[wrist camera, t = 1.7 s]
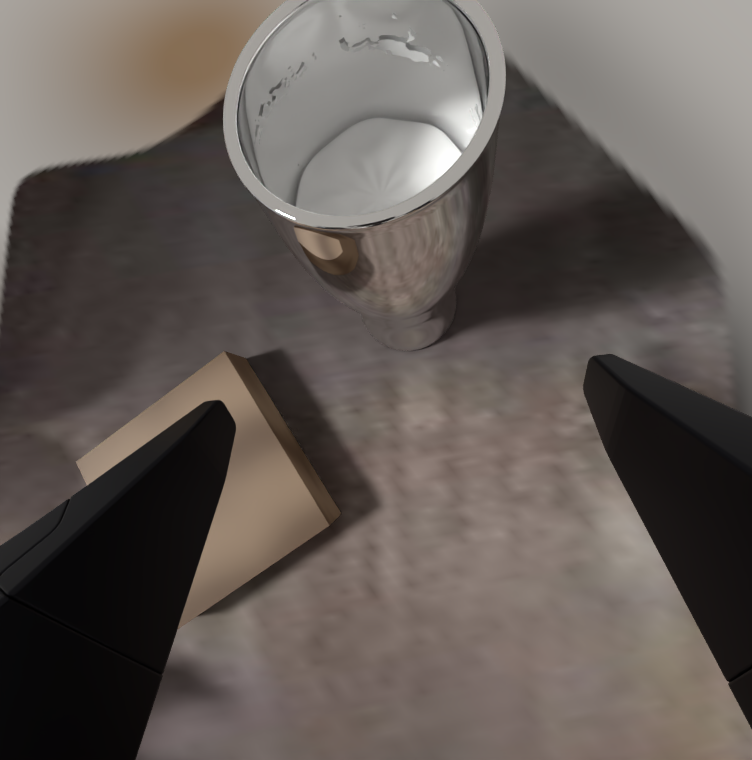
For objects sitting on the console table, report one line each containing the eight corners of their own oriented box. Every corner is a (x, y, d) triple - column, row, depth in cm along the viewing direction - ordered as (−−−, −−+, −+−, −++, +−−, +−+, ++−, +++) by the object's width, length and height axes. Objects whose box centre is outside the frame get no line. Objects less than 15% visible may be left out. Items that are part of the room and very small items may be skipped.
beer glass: (432, 233, 23) (424, -101, 8) (483, 326, 22) (582, 128, 7) (337, 284, 24) (174, 60, 9) (382, 377, 22) (279, 294, 8)
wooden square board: (341, 513, 22) (329, 525, 19) (190, 617, 23) (160, 641, 20) (245, 358, 24) (224, 351, 22) (111, 457, 25) (76, 461, 23)
